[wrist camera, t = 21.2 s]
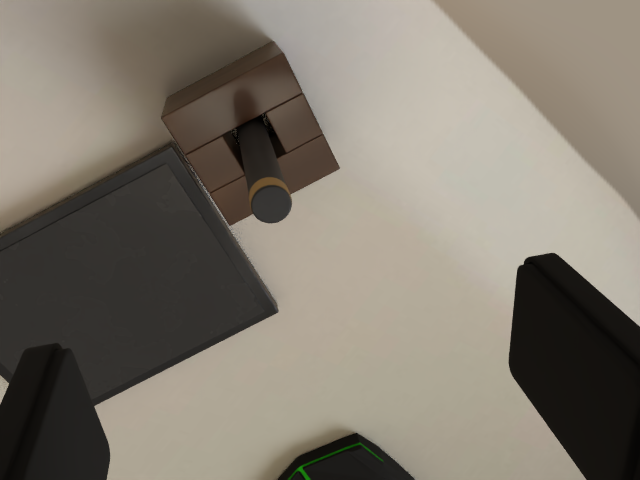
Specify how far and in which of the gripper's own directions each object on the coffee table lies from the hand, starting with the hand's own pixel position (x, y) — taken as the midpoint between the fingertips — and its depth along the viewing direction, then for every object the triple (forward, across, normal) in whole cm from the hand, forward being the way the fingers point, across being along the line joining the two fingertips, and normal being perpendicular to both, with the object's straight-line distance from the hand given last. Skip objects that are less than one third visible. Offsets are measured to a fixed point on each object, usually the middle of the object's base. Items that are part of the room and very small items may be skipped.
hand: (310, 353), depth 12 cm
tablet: (+20, +10, +10) cm, 24 cm away
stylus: (+20, 0, +1) cm, 20 cm away
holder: (+20, 0, +1) cm, 20 cm away
